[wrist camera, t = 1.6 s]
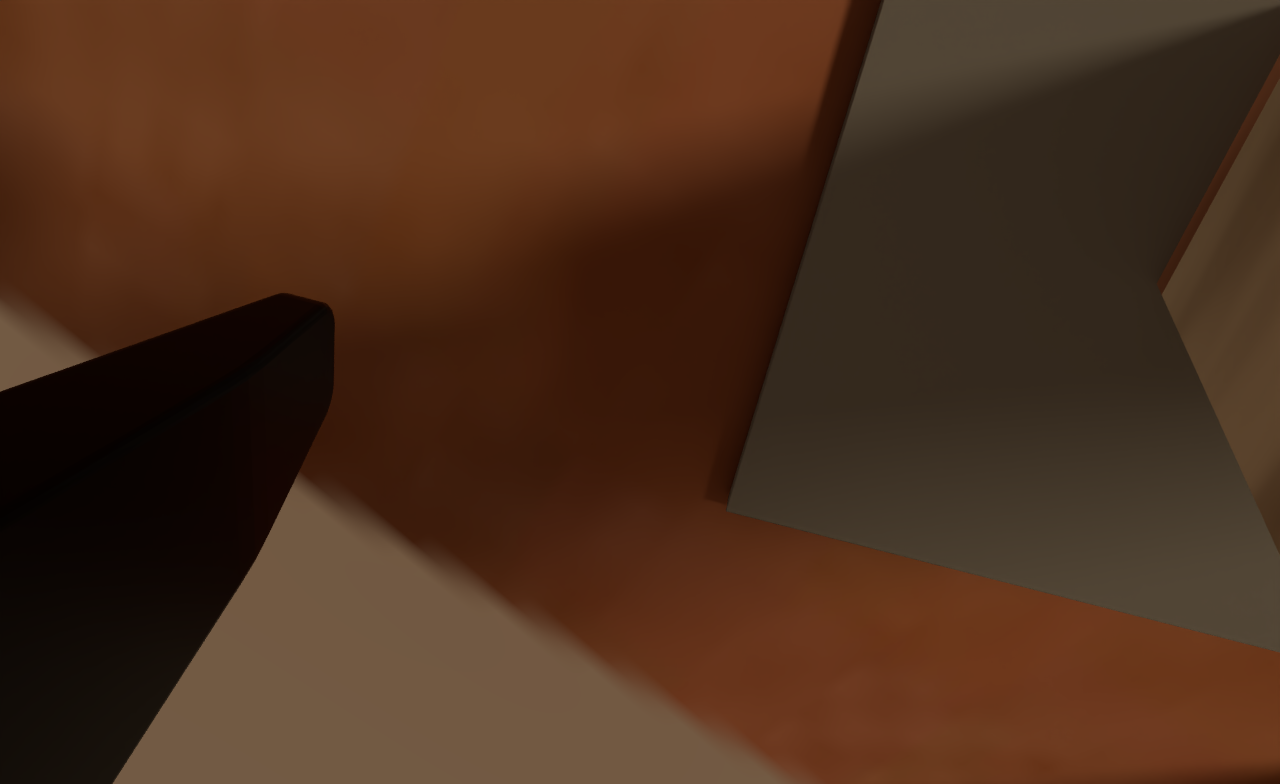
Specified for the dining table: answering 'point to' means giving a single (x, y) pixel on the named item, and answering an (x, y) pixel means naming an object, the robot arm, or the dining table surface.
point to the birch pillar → (1238, 297)
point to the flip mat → (1023, 310)
